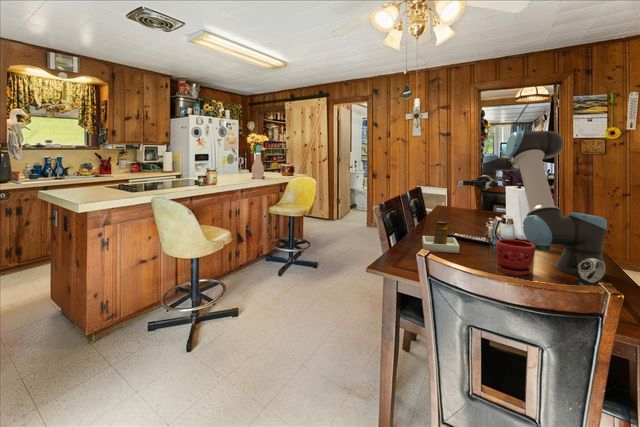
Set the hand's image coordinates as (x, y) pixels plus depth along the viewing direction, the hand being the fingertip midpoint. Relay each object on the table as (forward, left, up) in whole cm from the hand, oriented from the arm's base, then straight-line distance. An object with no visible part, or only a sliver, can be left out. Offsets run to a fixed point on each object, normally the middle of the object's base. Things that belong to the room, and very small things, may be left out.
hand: (472, 184), depth 161 cm
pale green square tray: (-12, +15, -31) cm, 36 cm away
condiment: (-11, +15, -30) cm, 36 cm away
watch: (-53, -30, -31) cm, 68 cm away
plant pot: (-40, -10, -31) cm, 51 cm away
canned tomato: (-2, -33, -31) cm, 46 cm away
